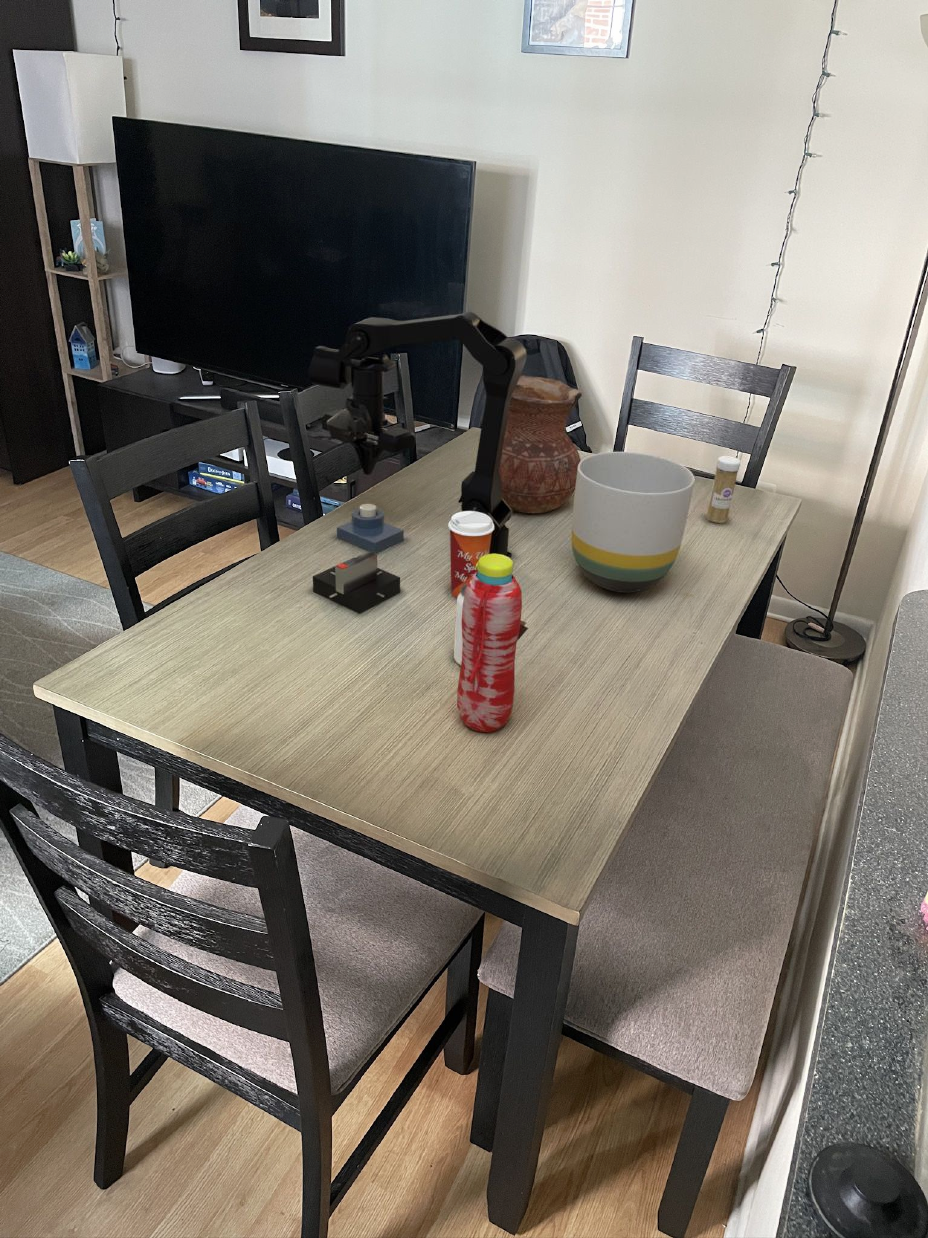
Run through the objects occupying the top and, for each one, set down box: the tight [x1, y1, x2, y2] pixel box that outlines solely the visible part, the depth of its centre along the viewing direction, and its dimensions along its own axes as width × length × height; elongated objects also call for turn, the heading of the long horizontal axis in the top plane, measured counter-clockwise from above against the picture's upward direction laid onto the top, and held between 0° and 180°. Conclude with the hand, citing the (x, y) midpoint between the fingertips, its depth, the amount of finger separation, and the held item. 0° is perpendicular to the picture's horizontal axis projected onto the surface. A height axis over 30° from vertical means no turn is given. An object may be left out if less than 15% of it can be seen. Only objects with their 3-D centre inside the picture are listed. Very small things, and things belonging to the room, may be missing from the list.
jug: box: [499, 375, 583, 514], centre depth 185 cm, size 22×21×25 cm
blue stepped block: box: [336, 507, 404, 554], centre depth 171 cm, size 10×9×4 cm
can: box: [453, 583, 468, 667], centre depth 133 cm, size 6×6×12 cm
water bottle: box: [456, 554, 529, 733], centre depth 118 cm, size 12×8×25 cm, turn 153°
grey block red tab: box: [335, 551, 378, 594], centre depth 148 cm, size 8×2×5 cm, turn 141°
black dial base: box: [312, 557, 401, 615], centre depth 150 cm, size 14×13×3 cm
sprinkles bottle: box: [705, 455, 741, 524], centre depth 185 cm, size 5×5×13 cm
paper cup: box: [447, 511, 494, 599], centre depth 151 cm, size 8×8×14 cm
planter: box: [571, 451, 695, 593], centre depth 155 cm, size 20×20×21 cm
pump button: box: [359, 503, 377, 517], centre depth 172 cm, size 3×3×2 cm
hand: (367, 474), depth 168 cm, fingers closed
